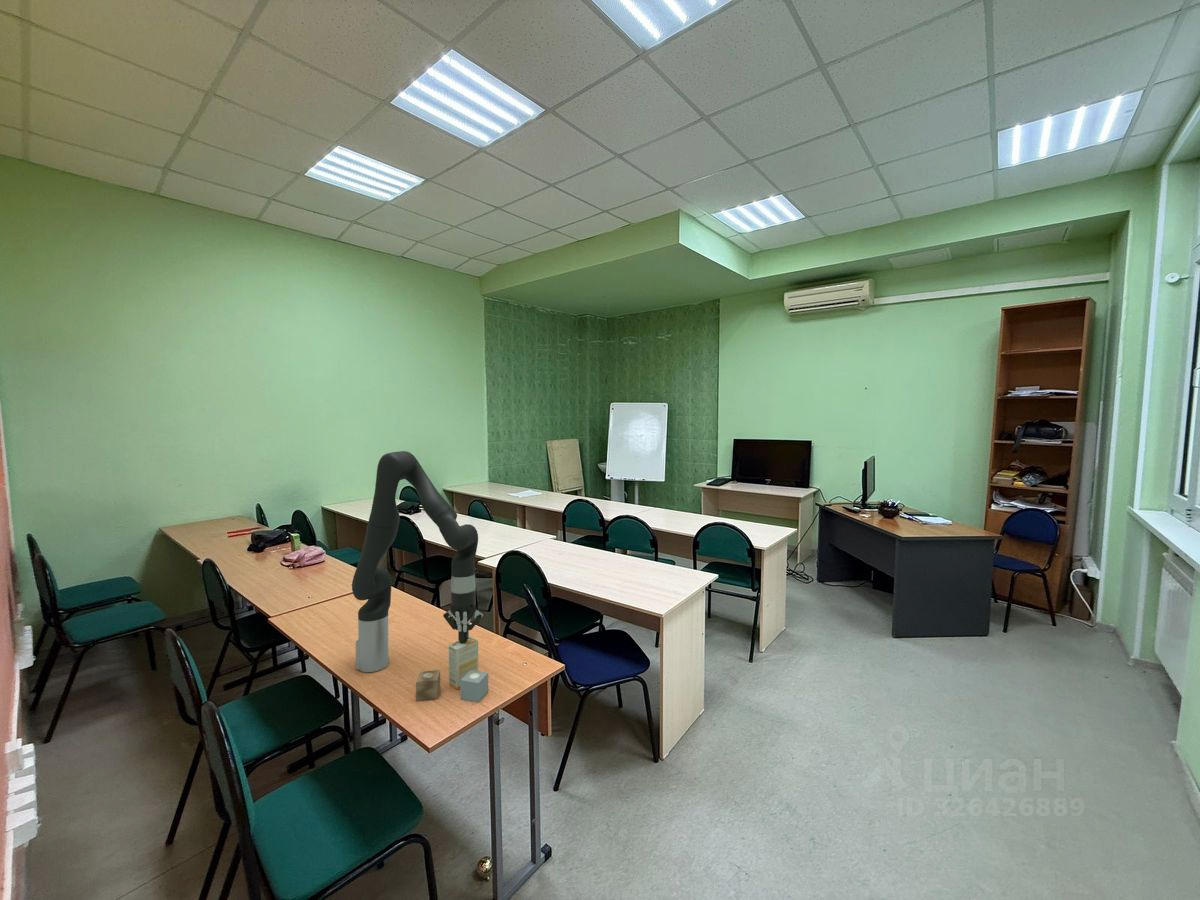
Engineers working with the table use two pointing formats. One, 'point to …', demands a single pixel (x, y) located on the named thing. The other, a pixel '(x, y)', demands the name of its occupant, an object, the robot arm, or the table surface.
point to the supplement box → (462, 660)
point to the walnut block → (428, 685)
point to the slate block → (474, 686)
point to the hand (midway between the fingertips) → (463, 642)
